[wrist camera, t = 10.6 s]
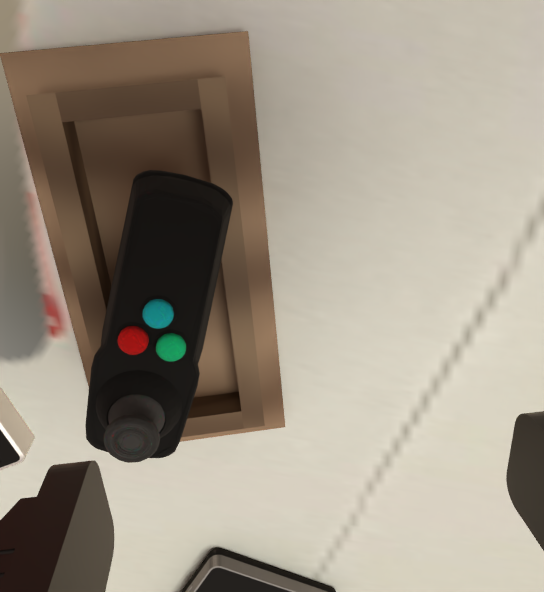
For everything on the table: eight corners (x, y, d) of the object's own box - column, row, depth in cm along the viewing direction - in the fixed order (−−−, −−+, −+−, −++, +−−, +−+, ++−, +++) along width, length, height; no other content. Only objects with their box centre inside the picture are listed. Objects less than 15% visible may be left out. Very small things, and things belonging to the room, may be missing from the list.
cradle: (7, 54, 24) (-20, 50, 21) (246, 33, 24) (250, 27, 22) (109, 441, 32) (99, 474, 29) (283, 417, 33) (289, 447, 30)
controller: (110, 362, 29) (62, 491, 20) (149, 141, 25) (111, 177, 16) (186, 375, 30) (174, 505, 21) (236, 164, 26) (249, 211, 16)
